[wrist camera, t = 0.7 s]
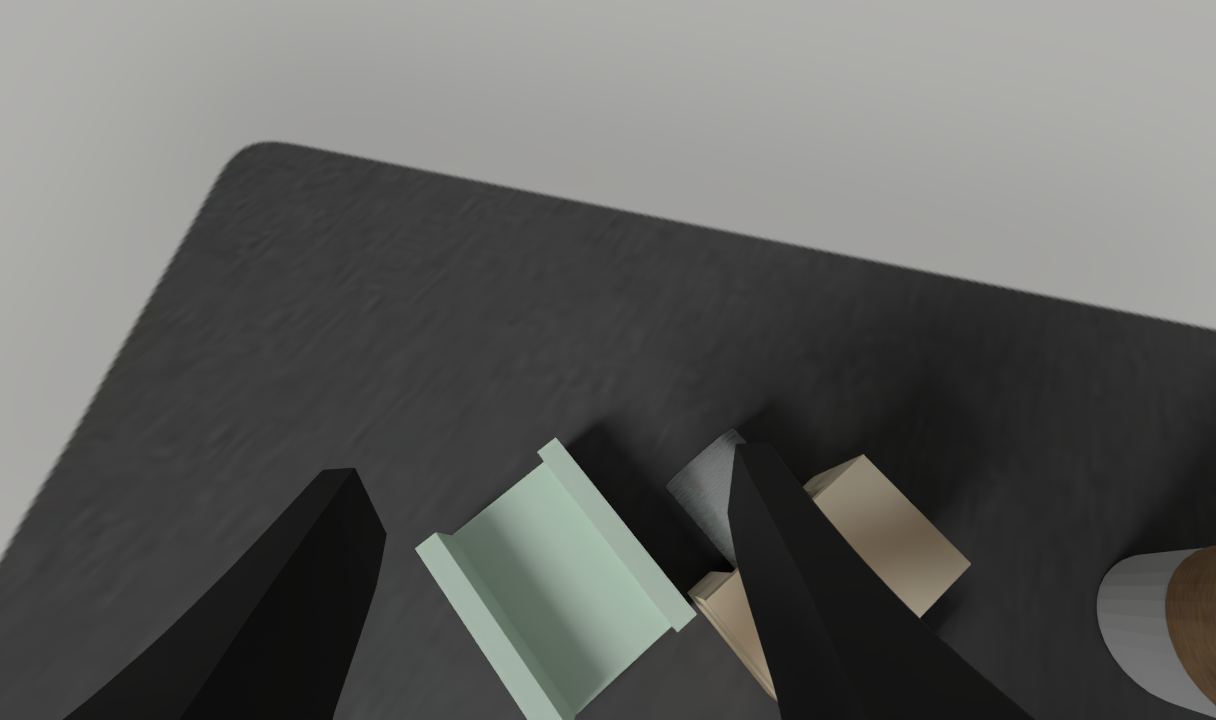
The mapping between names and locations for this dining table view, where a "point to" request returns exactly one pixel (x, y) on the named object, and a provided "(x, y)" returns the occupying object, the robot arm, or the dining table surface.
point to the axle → (710, 491)
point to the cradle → (554, 588)
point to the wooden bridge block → (877, 533)
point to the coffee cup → (1164, 624)
